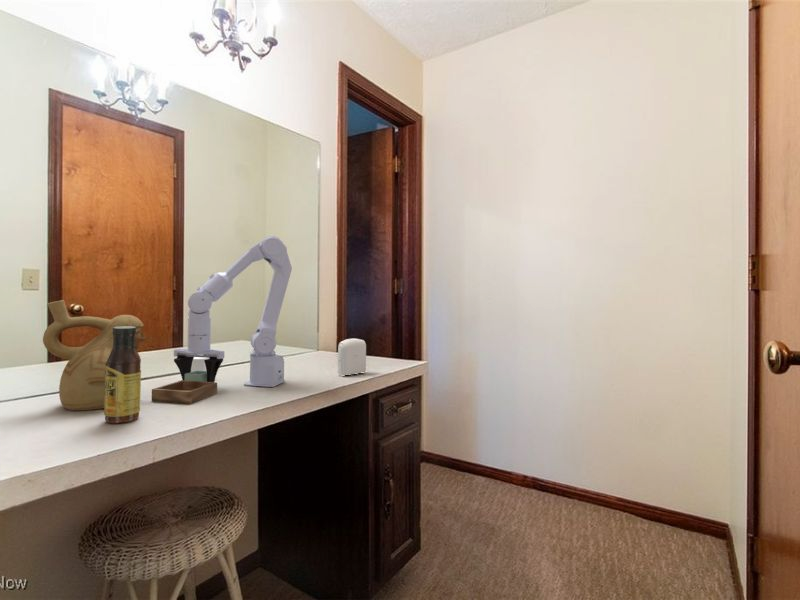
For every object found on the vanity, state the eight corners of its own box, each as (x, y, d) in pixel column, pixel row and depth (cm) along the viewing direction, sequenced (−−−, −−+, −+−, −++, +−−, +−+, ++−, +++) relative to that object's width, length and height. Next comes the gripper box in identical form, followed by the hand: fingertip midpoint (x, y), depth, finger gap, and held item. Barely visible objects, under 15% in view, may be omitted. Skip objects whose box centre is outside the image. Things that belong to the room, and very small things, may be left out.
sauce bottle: (101, 419, 84) (102, 326, 84) (136, 413, 88) (137, 324, 88) (107, 427, 79) (108, 328, 79) (143, 421, 84) (144, 327, 83)
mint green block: (212, 386, 114) (212, 371, 114) (200, 391, 109) (200, 374, 109) (196, 385, 115) (196, 370, 115) (184, 390, 110) (184, 373, 110)
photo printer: (342, 377, 130) (343, 340, 130) (335, 375, 133) (336, 338, 133) (367, 373, 137) (368, 338, 137) (360, 371, 140) (360, 337, 140)
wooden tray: (217, 393, 107) (217, 382, 107) (189, 404, 96) (190, 392, 96) (181, 391, 109) (182, 380, 109) (151, 401, 98) (151, 389, 98)
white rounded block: (205, 382, 119) (205, 359, 119) (182, 381, 120) (182, 358, 119) (216, 377, 126) (216, 355, 126) (194, 377, 126) (195, 355, 126)
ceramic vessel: (151, 404, 95) (152, 301, 95) (41, 420, 82) (42, 300, 82) (139, 390, 108) (140, 299, 108) (43, 402, 95) (43, 298, 95)
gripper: (165, 335, 109) (165, 384, 109) (213, 337, 106) (212, 387, 107) (183, 332, 116) (183, 378, 116) (229, 334, 113) (228, 381, 114)
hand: (198, 382), depth 112 cm, fingers open, 7 cm apart
